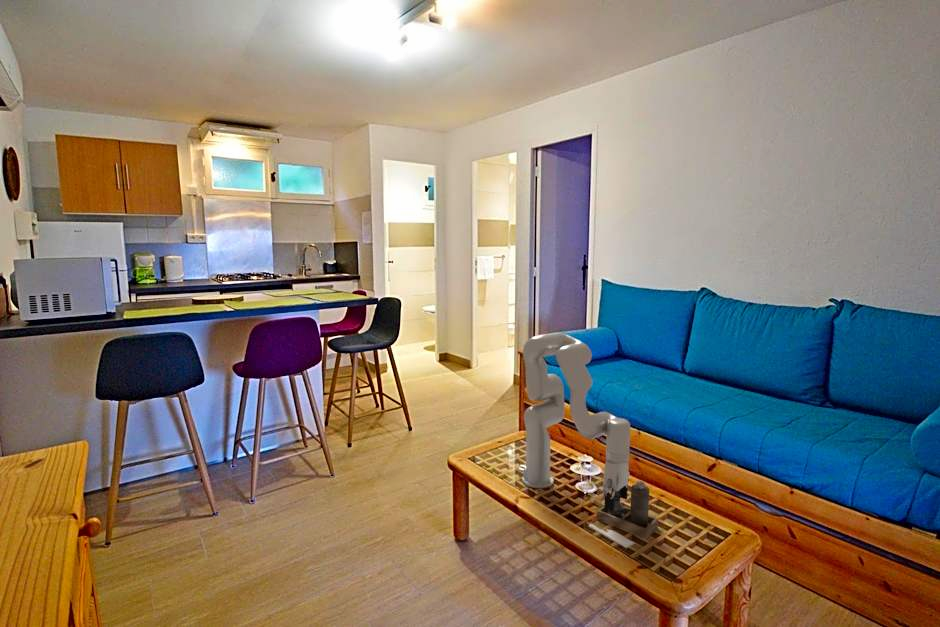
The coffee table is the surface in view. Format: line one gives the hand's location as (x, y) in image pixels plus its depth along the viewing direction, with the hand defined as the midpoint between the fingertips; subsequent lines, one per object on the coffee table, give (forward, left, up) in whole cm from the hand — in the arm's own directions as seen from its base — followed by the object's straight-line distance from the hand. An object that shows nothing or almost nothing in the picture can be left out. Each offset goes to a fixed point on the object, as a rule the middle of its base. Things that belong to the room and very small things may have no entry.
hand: (615, 503), depth 167 cm
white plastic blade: (+3, -9, -6) cm, 12 cm away
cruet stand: (+4, 0, -6) cm, 7 cm away
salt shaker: (0, 0, -5) cm, 5 cm away
